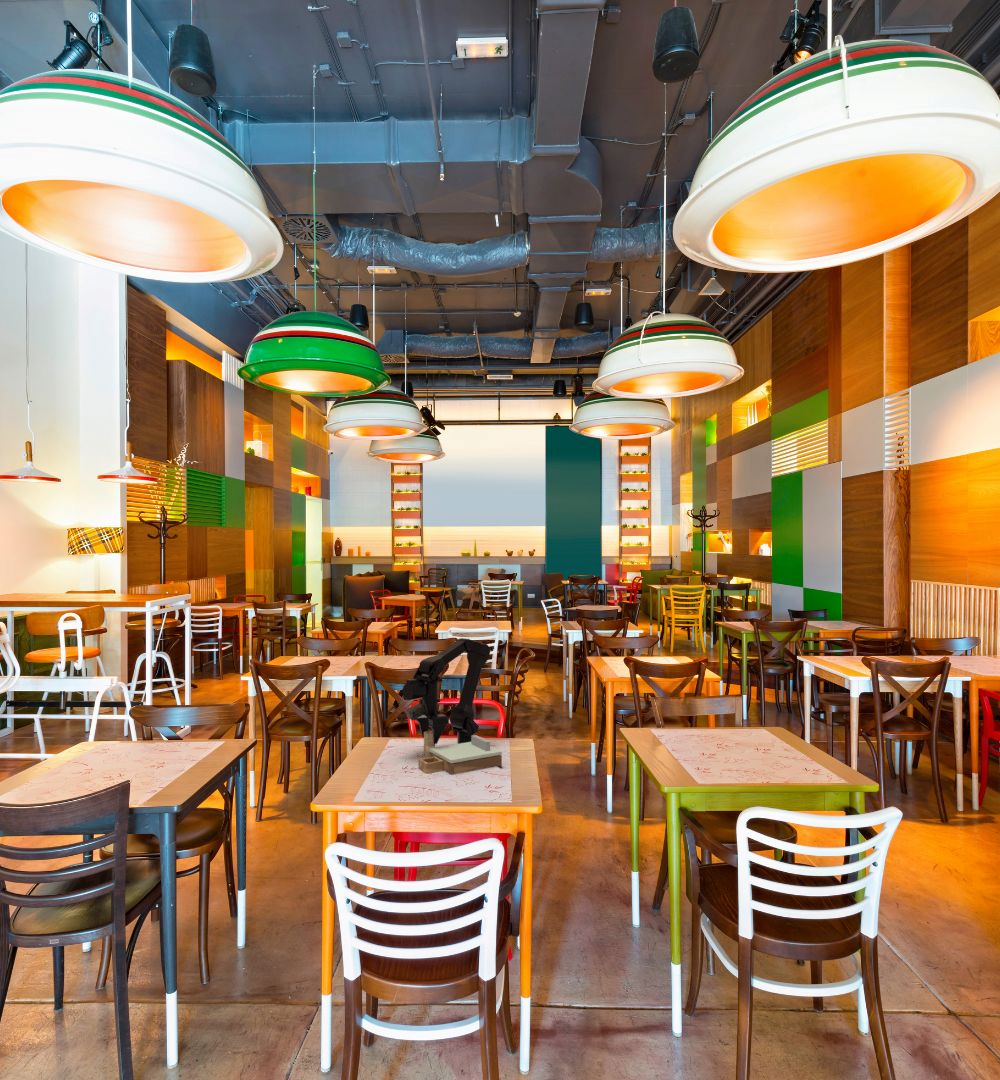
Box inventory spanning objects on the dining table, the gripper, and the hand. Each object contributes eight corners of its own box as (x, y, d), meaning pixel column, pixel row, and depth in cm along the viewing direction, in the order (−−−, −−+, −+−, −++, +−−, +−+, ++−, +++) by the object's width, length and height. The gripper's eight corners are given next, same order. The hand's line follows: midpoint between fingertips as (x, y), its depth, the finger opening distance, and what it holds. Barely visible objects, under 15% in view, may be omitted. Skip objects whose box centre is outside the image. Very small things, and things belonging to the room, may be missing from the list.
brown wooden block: (423, 757, 231) (423, 731, 232) (431, 756, 233) (431, 730, 233) (427, 759, 229) (427, 733, 229) (435, 758, 230) (435, 732, 231)
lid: (429, 751, 223) (429, 739, 223) (477, 743, 233) (477, 732, 233) (450, 763, 209) (451, 750, 210) (501, 754, 219) (501, 742, 220)
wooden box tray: (412, 767, 220) (412, 755, 220) (477, 756, 233) (477, 744, 233) (433, 781, 206) (433, 767, 206) (501, 768, 219) (501, 755, 219)
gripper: (398, 693, 235) (397, 738, 235) (420, 703, 219) (419, 750, 219) (426, 690, 241) (426, 733, 240) (449, 699, 225) (449, 745, 225)
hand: (429, 740), depth 231 cm, fingers open, 9 cm apart
